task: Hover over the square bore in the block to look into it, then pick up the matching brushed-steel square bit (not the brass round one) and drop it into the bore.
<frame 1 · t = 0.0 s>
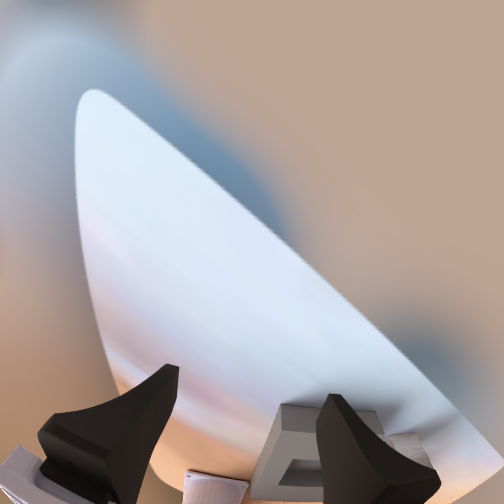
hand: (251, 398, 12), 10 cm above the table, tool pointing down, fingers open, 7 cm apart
bore block: (308, 451, 26), on the table
square bit: (395, 444, 25), on the table
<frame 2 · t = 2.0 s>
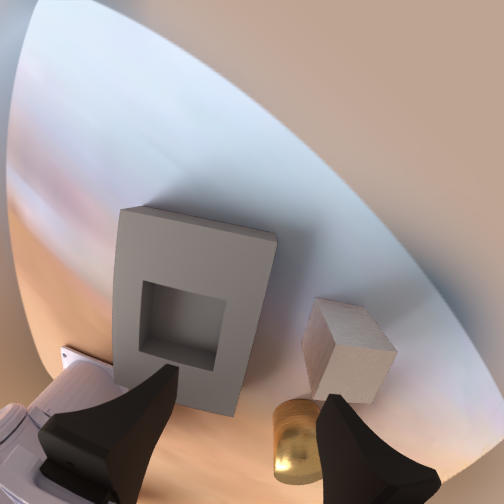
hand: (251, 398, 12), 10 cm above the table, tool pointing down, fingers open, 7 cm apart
round bit: (296, 415, 24), on the table
bore block: (190, 308, 22), on the table
square bit: (332, 325, 22), on the table
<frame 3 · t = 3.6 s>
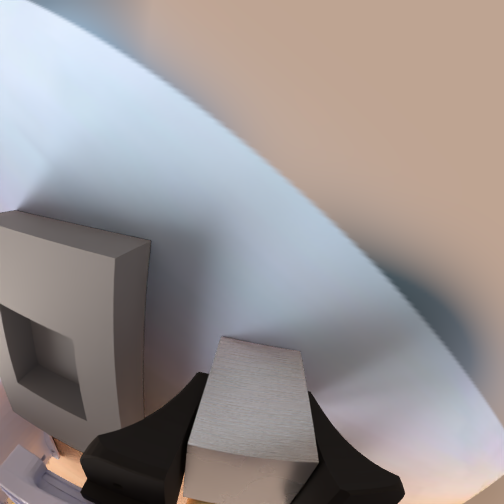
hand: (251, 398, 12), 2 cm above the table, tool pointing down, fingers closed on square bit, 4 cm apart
bore block: (71, 337, 14), on the table
square bit: (253, 375, 14), on the table, touching gripper
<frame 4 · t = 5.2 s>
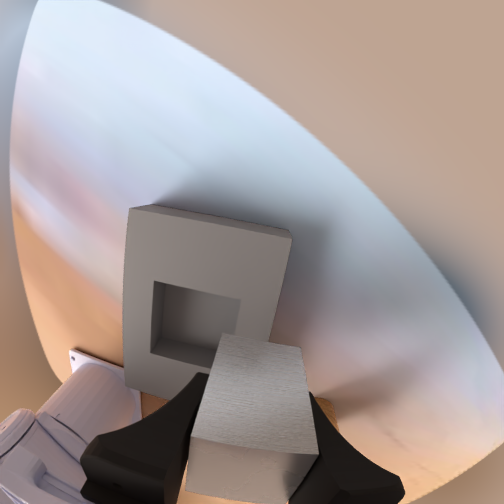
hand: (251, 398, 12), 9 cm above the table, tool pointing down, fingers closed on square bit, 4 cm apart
bore block: (202, 308, 21), on the table
square bit: (253, 371, 14), point 7 cm above the table, touching gripper
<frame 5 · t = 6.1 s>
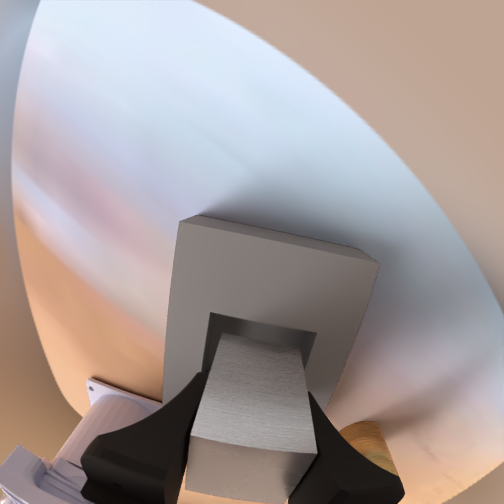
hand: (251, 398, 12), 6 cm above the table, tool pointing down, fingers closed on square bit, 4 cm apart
round bit: (357, 437, 20), on the table
bore block: (255, 336, 18), on the table
square bit: (253, 371, 15), point 4 cm above the table, touching gripper
when the fingers open (4 cm above the table, at t = 6.8 s): square bit drops 1 cm, resting on bore block.
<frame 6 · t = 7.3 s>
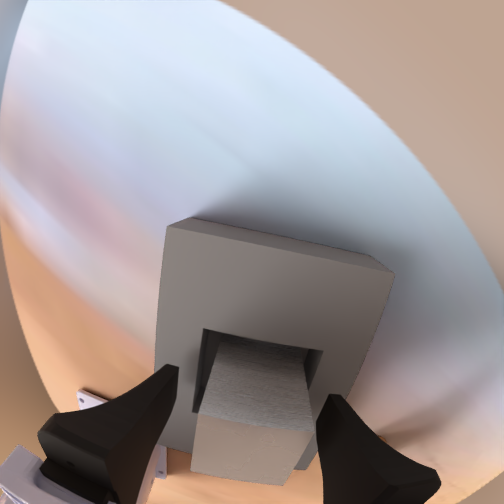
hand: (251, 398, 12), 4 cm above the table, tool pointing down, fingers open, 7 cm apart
bore block: (255, 351, 17), on the table
square bit: (254, 361, 16), point 1 cm above the table, touching bore block
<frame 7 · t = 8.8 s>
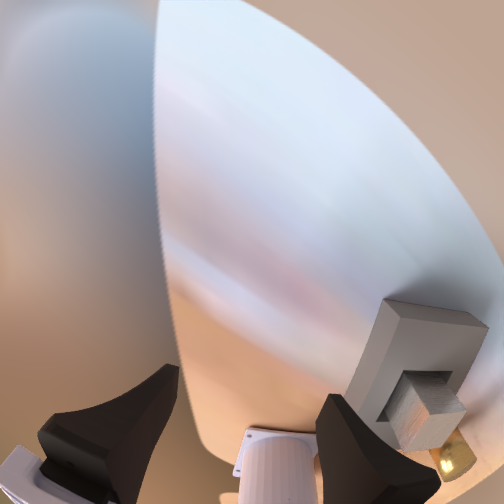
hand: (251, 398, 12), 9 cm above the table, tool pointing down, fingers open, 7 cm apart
round bit: (439, 432, 24), on the table
bore block: (401, 375, 22), on the table
square bit: (405, 381, 21), point 1 cm above the table, touching bore block
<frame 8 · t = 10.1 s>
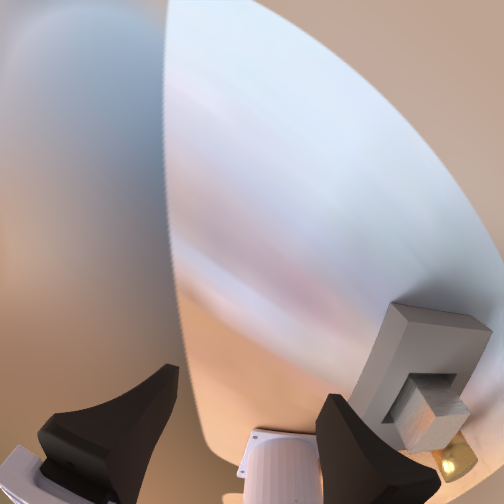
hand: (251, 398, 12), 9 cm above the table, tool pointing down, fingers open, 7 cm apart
round bit: (441, 434, 24), on the table
bore block: (406, 377, 22), on the table
square bit: (410, 384, 21), point 1 cm above the table, touching bore block
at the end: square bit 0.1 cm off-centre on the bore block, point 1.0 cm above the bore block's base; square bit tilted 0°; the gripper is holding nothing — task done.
